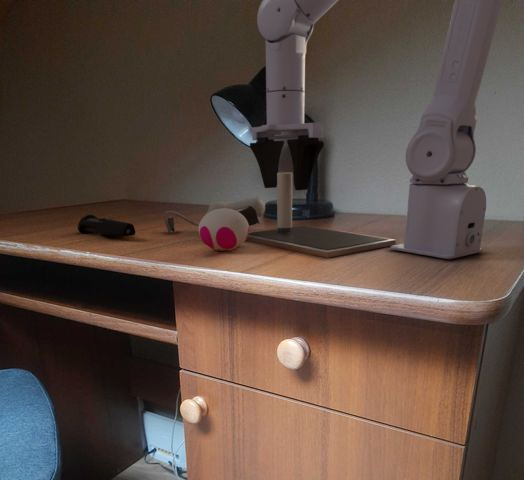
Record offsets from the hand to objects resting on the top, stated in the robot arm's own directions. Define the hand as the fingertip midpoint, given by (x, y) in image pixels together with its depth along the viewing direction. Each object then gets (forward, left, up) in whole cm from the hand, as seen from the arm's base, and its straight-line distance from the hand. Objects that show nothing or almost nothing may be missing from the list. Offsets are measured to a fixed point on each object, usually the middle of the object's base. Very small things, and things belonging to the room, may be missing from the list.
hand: (285, 188), depth 78 cm
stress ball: (-3, +15, -8) cm, 17 cm away
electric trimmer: (+21, +22, -8) cm, 31 cm away
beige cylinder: (0, 0, -7) cm, 7 cm away
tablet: (-7, 0, -8) cm, 10 cm away
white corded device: (+11, +7, -8) cm, 15 cm away
